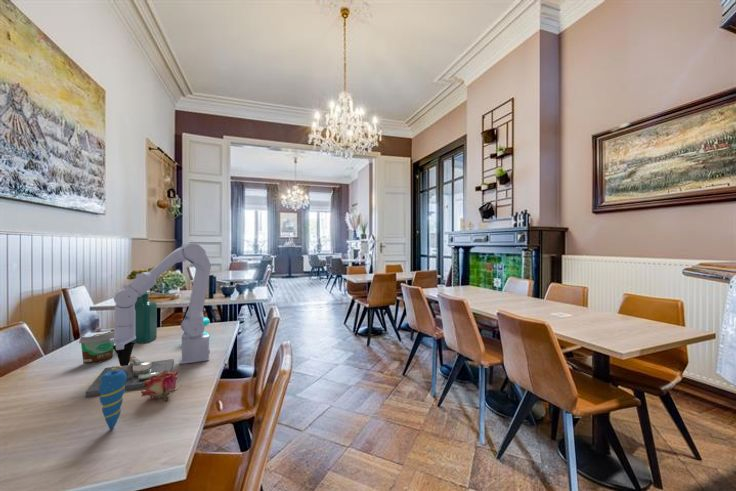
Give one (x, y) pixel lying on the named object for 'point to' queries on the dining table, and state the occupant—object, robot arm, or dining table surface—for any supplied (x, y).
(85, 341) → the food container
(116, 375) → the ornament
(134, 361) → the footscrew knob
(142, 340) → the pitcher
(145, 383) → the flower
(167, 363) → the grey flat square slab
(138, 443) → the dining table surface
